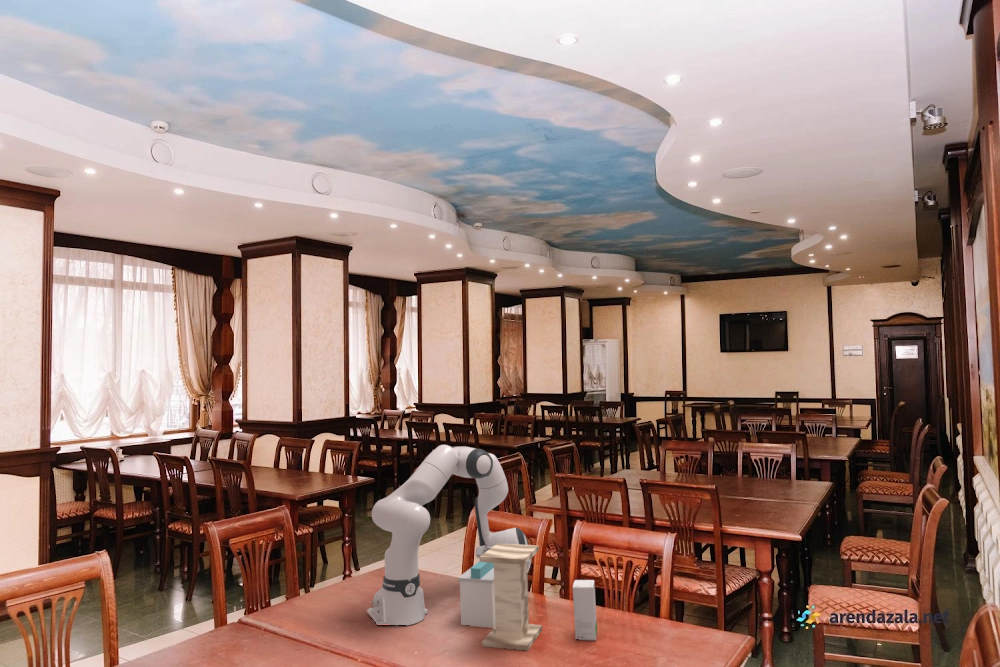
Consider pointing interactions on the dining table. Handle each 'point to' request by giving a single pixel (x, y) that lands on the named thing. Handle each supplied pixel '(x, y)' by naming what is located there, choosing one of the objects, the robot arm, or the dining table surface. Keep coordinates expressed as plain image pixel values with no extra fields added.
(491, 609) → the grey storage box
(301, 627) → the dining table surface
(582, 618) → the skincare box
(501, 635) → the birch pedestal
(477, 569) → the teal bar
